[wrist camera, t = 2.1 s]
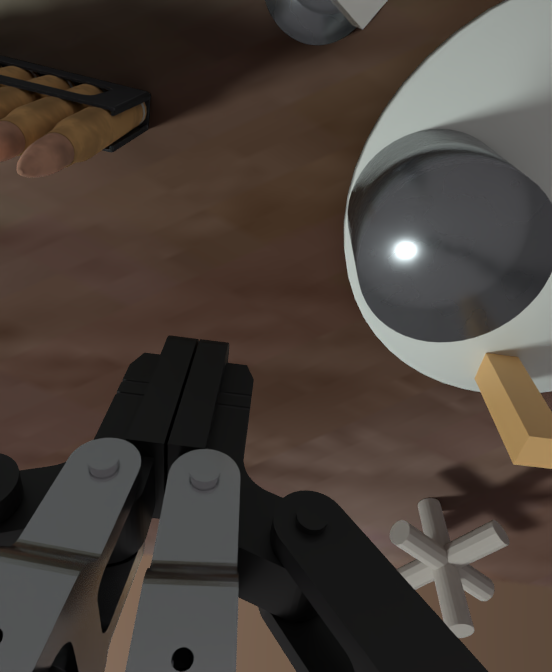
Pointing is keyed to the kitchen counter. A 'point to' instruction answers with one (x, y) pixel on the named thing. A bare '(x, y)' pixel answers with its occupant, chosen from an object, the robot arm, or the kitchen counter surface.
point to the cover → (448, 237)
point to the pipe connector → (448, 562)
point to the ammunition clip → (63, 116)
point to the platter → (524, 154)
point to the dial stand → (322, 18)
